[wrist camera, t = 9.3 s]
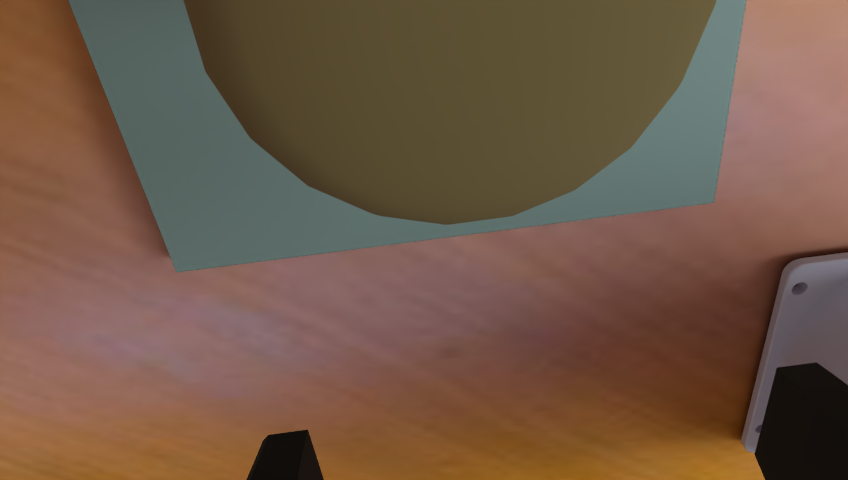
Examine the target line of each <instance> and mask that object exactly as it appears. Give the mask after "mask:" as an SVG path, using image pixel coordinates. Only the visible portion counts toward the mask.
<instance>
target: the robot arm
mask: <svg viewBox="0 0 848 480" xmlns="http://www.w3.org/2000/svg"><path fill="white" fill-rule="evenodd" d="M798 283H800V284H798ZM796 284H798V285H797V286H795V285H796ZM794 286H795V287H794ZM741 443H742V444H743V446H744V448H745V449H746V450H747V451H749V452H755V456H756V459H757V461H758V464H759V466H760V468H761V471H762V473H763V476H764V478H765V480H848V252H846V253H838V254H830V255H823V256H815V257H807V258H800V259H796V260H793V261H792V262H790V263H788V265H787V266H786V267H785V268H784V270H783V272H782V275H781V279H780V284H779V288H778V292H777V296H776V300H775V304H774V308H773V312H772V316H771V320H770V324H769V328H768V333H767V337H766V341H765V345H764V349H763V353H762V357H761V361H760V365H759V369H758V373H757V377H756V382H755V386H754V390H753V394H752V398H751V402H750V406H749V410H748V414H747V418H746V422H745V426H744V431H743V435H742V439H741ZM247 480H324V479H323V476H322V473H321V470H320V467H319V463H318V460H317V457H316V454H315V451H314V448H313V445H312V442H311V438H310V435H309V432H308V430H303V431H295V432H288V433H280V434H272V435H268V436H267V437H266V438H265V439H264V440H263V442H262V445H261V447H260V449H259V452H258V454H257V457H256V459H255V461H254V464H253V466H252V468H251V471H250V473H249V475H248V478H247Z"/></svg>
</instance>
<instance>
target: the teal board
mask: <svg viewBox="0 0 848 480" xmlns="http://www.w3.org/2000/svg"><path fill="white" fill-rule="evenodd" d="M68 1H69V3H70V6H71V9H72V11H73V14H74V16H75V19H76V21H77V24H78V26H79V29H80V31H81V34H82V36H83V39H84V41H85V44H86V46H87V49H88V51H89V54H90V56H91V59H92V61H93V64H94V66H95V69H96V71H97V74H98V76H99V79H100V81H101V84H102V86H103V89H104V91H105V94H106V97H107V99H108V102H109V104H110V107H111V109H112V112H113V114H114V117H115V119H116V122H117V124H118V127H119V129H120V132H121V134H122V137H123V139H124V142H125V144H126V147H127V149H128V152H129V154H130V157H131V159H132V162H133V164H134V167H135V169H136V172H137V174H138V177H139V179H140V182H141V185H142V187H143V190H144V192H145V195H146V197H147V200H148V202H149V205H150V207H151V210H152V212H153V215H154V217H155V220H156V222H157V225H158V227H159V230H160V232H161V235H162V237H163V240H164V242H165V245H166V247H167V250H168V252H169V255H170V257H171V260H172V262H173V265H174V268H175V270H176V272H183V271H191V270H199V269H207V268H214V267H222V266H230V265H237V264H245V263H253V262H261V261H268V260H276V259H284V258H291V257H299V256H307V255H315V254H322V253H330V252H338V251H345V250H353V249H361V248H369V247H376V246H384V245H392V244H400V243H407V242H415V241H423V240H430V239H438V238H446V237H454V236H461V235H469V234H477V233H484V232H492V231H500V230H508V229H515V228H523V227H531V226H538V225H546V224H554V223H562V222H569V221H577V220H585V219H592V218H600V217H608V216H616V215H623V214H631V213H639V212H647V211H654V210H662V209H670V208H677V207H685V206H693V205H701V204H708V203H714V199H715V193H716V186H717V180H718V174H719V168H720V161H721V155H722V149H723V143H724V137H725V130H726V124H727V118H728V112H729V105H730V99H731V93H732V87H733V80H734V74H735V68H736V62H737V56H738V49H739V43H740V37H741V31H742V24H743V18H744V12H745V6H746V0H716V4H715V6H714V9H713V11H712V13H711V16H710V18H709V20H708V23H707V25H706V27H705V30H704V32H703V34H702V37H701V39H700V41H699V44H698V46H697V48H696V51H695V53H694V55H693V58H692V60H691V62H690V65H689V67H688V69H687V72H686V74H685V76H684V79H683V81H682V82H681V84H680V86H679V87H678V89H677V90H676V92H675V93H674V94H673V95H672V97H671V98H670V99H669V100H668V102H667V103H666V104H665V106H664V107H663V108H662V109H661V111H660V112H659V113H658V114H657V116H656V117H655V118H654V119H653V121H652V122H651V123H650V125H649V126H648V127H647V128H646V130H645V131H644V132H643V133H642V135H641V136H640V137H639V138H638V140H637V141H636V142H635V144H634V145H633V146H632V147H631V148H630V149H629V150H628V151H626V152H625V153H624V154H622V155H621V156H620V157H618V158H617V159H616V160H614V161H613V162H612V163H610V164H609V165H608V166H606V167H605V168H604V169H602V170H601V171H600V172H598V173H597V174H596V175H594V176H593V177H592V178H590V179H589V180H588V181H587V182H585V183H584V184H583V185H581V186H580V187H579V188H577V189H576V190H574V191H572V192H570V193H567V194H565V195H562V196H560V197H558V198H555V199H553V200H550V201H548V202H545V203H543V204H541V205H538V206H536V207H533V208H531V209H529V210H526V211H524V212H521V213H519V214H516V215H514V216H510V217H503V218H495V219H488V220H480V221H473V222H465V223H458V224H450V225H443V224H436V223H428V222H421V221H413V220H406V219H399V218H391V217H384V216H379V215H375V214H372V213H369V212H367V211H365V210H362V209H360V208H358V207H355V206H353V205H351V204H348V203H346V202H344V201H342V200H339V199H337V198H335V197H332V196H330V195H328V194H325V193H323V192H321V191H318V190H316V189H314V188H311V187H309V186H307V185H306V184H305V183H304V182H303V181H301V180H300V179H299V178H298V177H296V176H295V175H294V174H293V173H292V172H290V171H289V170H288V169H287V168H286V167H284V166H283V165H282V164H281V163H279V162H278V161H277V160H276V159H275V158H273V157H272V156H271V155H270V154H269V153H267V152H266V151H265V150H264V149H263V148H261V147H260V146H259V145H258V144H256V143H255V142H254V141H253V140H252V139H250V137H249V136H248V134H247V133H246V131H245V130H244V128H243V127H242V125H241V124H240V122H239V121H238V119H237V118H236V116H235V115H234V113H233V112H232V110H231V109H230V107H229V106H228V105H227V103H226V102H225V100H224V99H223V97H222V96H221V94H220V93H219V91H218V90H217V88H216V87H215V85H214V84H213V82H212V81H211V79H210V78H209V76H208V75H207V73H206V72H205V69H204V65H203V62H202V59H201V56H200V52H199V49H198V46H197V43H196V39H195V36H194V33H193V30H192V26H191V23H190V20H189V17H188V13H187V10H186V7H185V4H184V0H68Z"/></svg>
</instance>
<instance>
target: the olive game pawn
mask: <svg viewBox="0 0 848 480" xmlns="http://www.w3.org/2000/svg"><path fill="white" fill-rule="evenodd" d="M184 4H185V7H186V10H187V13H188V17H189V20H190V23H191V26H192V30H193V33H194V36H195V39H196V43H197V46H198V49H199V52H200V56H201V59H202V62H203V65H204V69H205V72H206V73H207V75H208V76H209V78H210V79H211V81H212V82H213V84H214V85H215V87H216V88H217V90H218V91H219V93H220V94H221V96H222V97H223V99H224V100H225V102H226V103H227V105H228V106H229V107H230V109H231V110H232V112H233V113H234V115H235V116H236V118H237V119H238V121H239V122H240V124H241V125H242V127H243V128H244V130H245V131H246V133H247V134H248V136H249V137H250V139H252V140H253V141H254V142H255V143H256V144H258V145H259V146H260V147H261V148H263V149H264V150H265V151H266V152H267V153H269V154H270V155H271V156H272V157H273V158H275V159H276V160H277V161H278V162H279V163H281V164H282V165H283V166H284V167H286V168H287V169H288V170H289V171H290V172H292V173H293V174H294V175H295V176H296V177H298V178H299V179H300V180H301V181H303V182H304V183H305V184H306V185H307V186H309V187H311V188H314V189H316V190H318V191H321V192H323V193H325V194H328V195H330V196H332V197H335V198H337V199H339V200H342V201H344V202H346V203H348V204H351V205H353V206H355V207H358V208H360V209H362V210H365V211H367V212H369V213H372V214H375V215H379V216H384V217H391V218H399V219H406V220H413V221H421V222H428V223H436V224H443V225H450V224H458V223H465V222H473V221H480V220H488V219H495V218H503V217H510V216H514V215H516V214H519V213H521V212H524V211H526V210H529V209H531V208H533V207H536V206H538V205H541V204H543V203H545V202H548V201H550V200H553V199H555V198H558V197H560V196H562V195H565V194H567V193H570V192H572V191H574V190H576V189H577V188H579V187H580V186H581V185H583V184H584V183H585V182H587V181H588V180H589V179H590V178H592V177H593V176H594V175H596V174H597V173H598V172H600V171H601V170H602V169H604V168H605V167H606V166H608V165H609V164H610V163H612V162H613V161H614V160H616V159H617V158H618V157H620V156H621V155H622V154H624V153H625V152H626V151H628V150H629V149H630V148H631V147H632V146H633V145H634V144H635V142H636V141H637V140H638V138H639V137H640V136H641V135H642V133H643V132H644V131H645V130H646V128H647V127H648V126H649V125H650V123H651V122H652V121H653V119H654V118H655V117H656V116H657V114H658V113H659V112H660V111H661V109H662V108H663V107H664V106H665V104H666V103H667V102H668V100H669V99H670V98H671V97H672V95H673V94H674V93H675V92H676V90H677V89H678V87H679V86H680V84H681V82H682V81H683V79H684V76H685V74H686V72H687V69H688V67H689V65H690V62H691V60H692V58H693V55H694V53H695V51H696V48H697V46H698V44H699V41H700V39H701V37H702V34H703V32H704V30H705V27H706V25H707V23H708V20H709V18H710V16H711V13H712V11H713V9H714V6H715V4H716V0H184Z"/></svg>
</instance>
